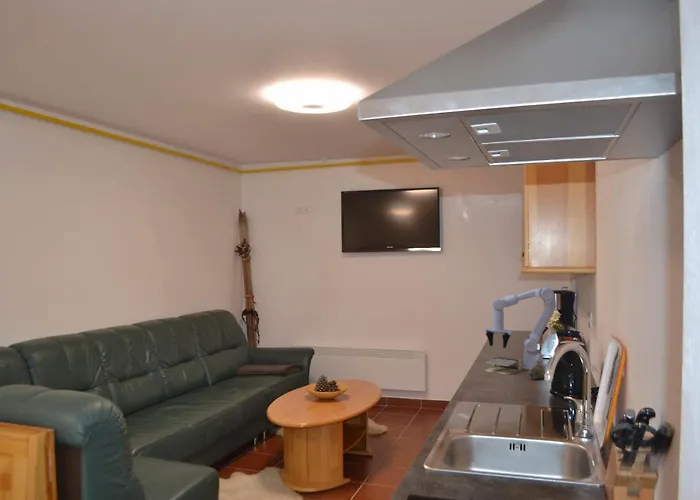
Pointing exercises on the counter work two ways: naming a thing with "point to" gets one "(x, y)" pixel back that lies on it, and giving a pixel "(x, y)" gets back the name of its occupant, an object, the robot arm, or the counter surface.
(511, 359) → the trapdoor
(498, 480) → the counter surface
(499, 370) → the frame
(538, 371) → the rock
